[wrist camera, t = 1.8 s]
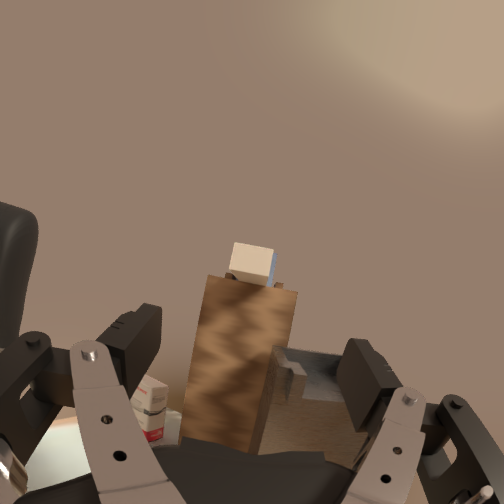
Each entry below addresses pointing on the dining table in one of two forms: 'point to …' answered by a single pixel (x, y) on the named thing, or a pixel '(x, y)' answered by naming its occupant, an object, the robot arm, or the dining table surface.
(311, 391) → the tray
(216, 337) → the stand
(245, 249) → the cream rectangular block
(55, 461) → the dining table surface
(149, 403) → the ink box
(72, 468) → the dining table surface
